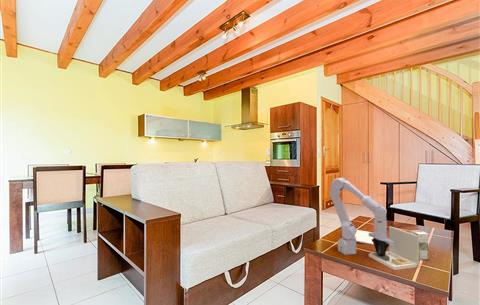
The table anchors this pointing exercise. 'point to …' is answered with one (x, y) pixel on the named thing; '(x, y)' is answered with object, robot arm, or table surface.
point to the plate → (363, 237)
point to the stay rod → (379, 252)
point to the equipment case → (400, 250)
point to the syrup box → (422, 244)
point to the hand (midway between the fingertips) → (380, 253)
